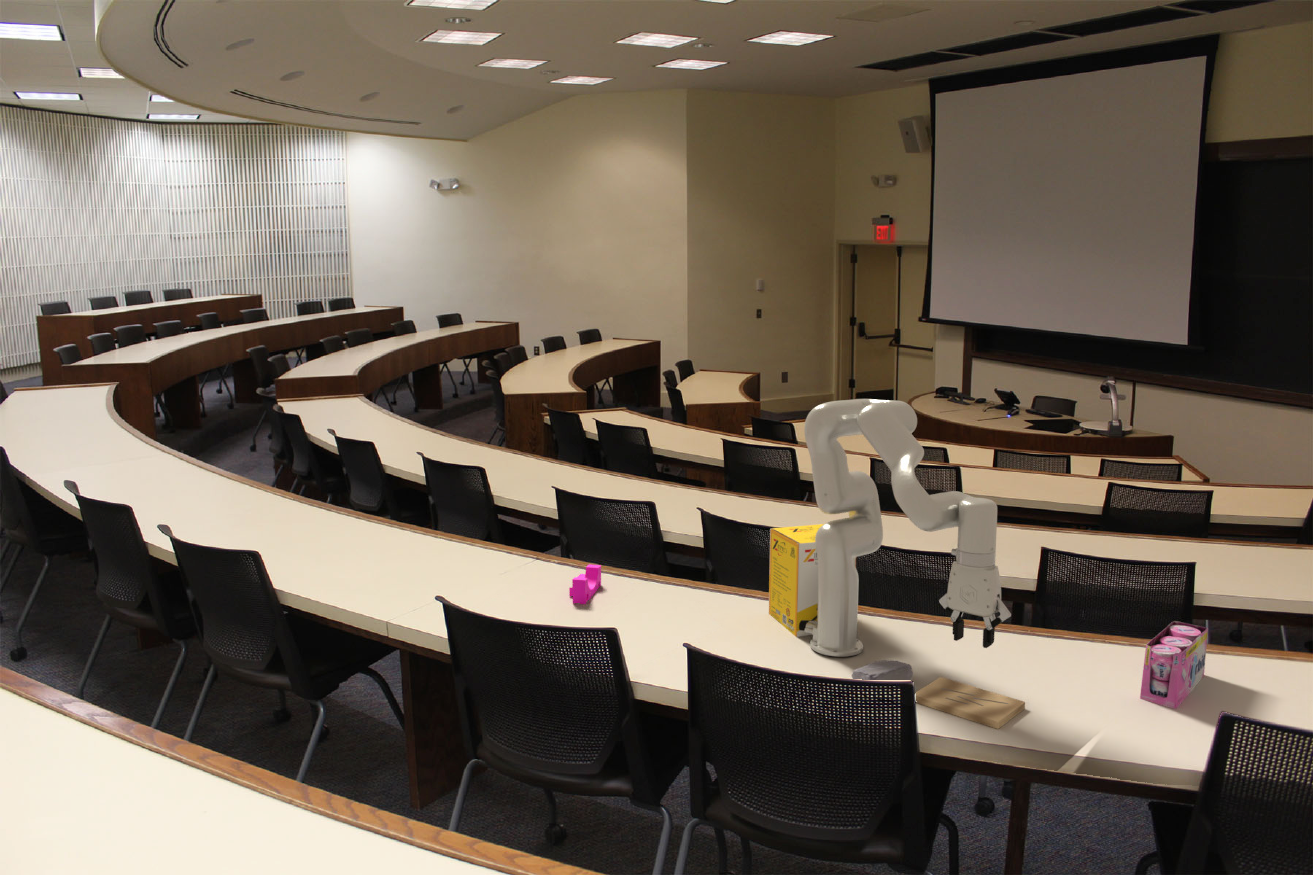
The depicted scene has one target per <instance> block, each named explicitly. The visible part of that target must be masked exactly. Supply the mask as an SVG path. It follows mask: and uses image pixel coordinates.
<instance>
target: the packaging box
mask: <svg viewBox="0 0 1313 875" xmlns="http://www.w3.org/2000/svg"><path fill="white" fill-rule="evenodd" d="M824 524H825V523H820V524H819V523H818V524H808V525H796V526H786V527H784V526H783V527H772V528H770V529H769V533H770V534H769V575H768V577H769V581H768V588H769V589H768V615H770V616H771V617H772V618H773V619H774V620H775V621H777V623H778V624H780V625H781V626H783V627H784V628H785V629H786V630H787V631H788V632H790V633H791V634H792V635H793V636H794V637H795V638H799V637H804V636H805V637H806V636H811V635H812V634H809V633H806V632H805V628H806V624H807V623H808V622H810V623H814V624H816V625H817V613H818V558H817V552H816V546H815V536H816V533H817V531H818V529H819V528H820V527H821V526H822V525H824ZM853 563H854V566H855V568H856V569H857V557H855V558H853ZM812 636H813V635H812Z"/></svg>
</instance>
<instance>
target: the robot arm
mask: <svg viewBox="0 0 1313 875" xmlns="http://www.w3.org/2000/svg"><path fill="white" fill-rule="evenodd" d="M917 425H918V417H917V414H916V411H915V410H914V408H913V407H912V406H911V405H910V404H908V403H907V402H905V401H902V400H892V399H891V400H889V399H887V400H886V399H873V398H856V399H854V398H853V399H845V400H843V399H842V400H832V401H828V402H823V403H821V404H818V405H817V406H815V407H813V408H812V409H811V410H810V411H809V412H808V414H807V416H806V418H805V421H804V427H803V428H804V430H803V432H804V439H805V442H806V447H807V450H808V453H809V458H810V463H811V472H812V474H811V475H812V481H813V488H814V495H815V500H816V505H817V507H818V509H819V510H820V511H821V512H822V513H823V514H826V515H840V514H844V513H848V516H849V517H844V518H839V519H834V520H831V521H828V522H826V523H823V524H824V525H822V526H821V527H820V528H819V529H818V531H817V533H816V536H815V546H816V552H817V558H818V613H817V625H816V624H814V623H810V622H808V623H807V624H806V628H805V632H806V633H809V634H812V638H811V639H810V642H809V646H810V648H811V649H812V650H813V651H815V652H816V653H818V654H821V655H824V656H830V657H839V658H841V657H842V658H843V657H852V656H857V655H859V654H861V653H862V652H863V651H864V643H863V642H862V641H861V640H859V639H858V638H857V636H858V610H859V581H860V580H859V578H860V577H859V573H858V570H857V567H856V568H855V566H854V563H853V558H855V557H856V558H857V557H863V556H866V555H869V554H872V553H874V552H877V551H878V550H879V549H880V548H881V546H882V544H883V541H884V540H883V538H884V529H883V521H882V514H881V505H880V500H879V499H880V498H879V497H880V496H879V494H878V493H879V492H878V489H877V485H876V483H875V481H874V480H873V478H872V477H871V476H870V475H869V474H867V473H866V472H863V471H862V470H861V471H860V470H853V471H849V465H848V456H847V454H846V451H845V449H844V447H843V445H842V444H841V443H840V442H839V441H838V439H839V438H842V437H851V436H859V435H863V437H864V438H865V439H866V440H867V442H868V444H870V445H871V448H872V449H874V450H875V452H876V453H877V454H878V456H879V457H880V459H881V460H883V463H884V464H885V465H886V467H888V469H889V470H890V473H891V477H890V480H891V488H892V493H893V497H894V500H895V501H896V504H897V505H898V506H899V508H900V509H901V510H902V511H903V513H904V514H905V516H906V517H907V518H908V519H909V521H910V522H911V523H912V524H913V525H914V526H915V527H917V528H918V529H920V530H922V531H924V532H929V533H930V532H938V531H941V530H946V529H952V528H957V545H956V546H957V547H956V548H952V549H951V552H950V554H951V555H952V556H955V561H953V562H952V564H951V569H950V572H949V578H948V583H947V592H946V593H945V594H944V595H942V597H940V598H939V600H938V601H939V604H940V605H941V606H942V607H943V609H944V610H945V612H946V613H947V615H948V616H949V617H950V621H951V622H952V635H953V641H956V642H958V641H959V640H961V639H963V638H964V633H965V632H964V631H965V620H964V618H963V616H964V615H963V614H964V613H965V614H969V615H972V616H973V615H974V616H978V617H982V618H983V622H984V626H985V628H983V630H982V632H983V633H982V647H983V648H984V649H987V648H990V646H992V645H993V644H994V643H995V632H996V631H995V630H996V629H995V628H997V626H999V625H1000V624H1001V623H1003V622H1004V621H1006V620H1007V619H1009V618H1010V617H1012V613H1011V612H1010V610H1009V609H1008V608H1007V606H1006V605H1005V604H1004V602H1003V600H1002V586H1001V584H1002V583H1001V575H1000V570H999V566H997V565H996V555H997V554H996V552H997V551H996V550H997V549H996V548H997V526H998V505H997V503H996V502H995V501H994V500H992V499H990V498H985V497H975V496H972V495H969V494H968V493H964V492H961V491H958V490H957V491H956V490H954V491H953V490H951V491H945V492H939V493H935V494H934V493H932V494H929V493H928V492H927V491H926V490H925V488H924V487H923V486H922V485H921V483H920V481H919V480H918V477H917V476H916V473H915V468H916V467H917V466H918V465H919V464H920V463H921V462H922V460H923V459H924V456H925V450H924V448H923V445H921V443H920V442H919V441H918V440H917V438H916V437H914V435H913V434H912V433H913V432H915V430H916V428H917ZM996 613H1000V615H999V616H997V617H996V615H995V614H996Z"/></svg>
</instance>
